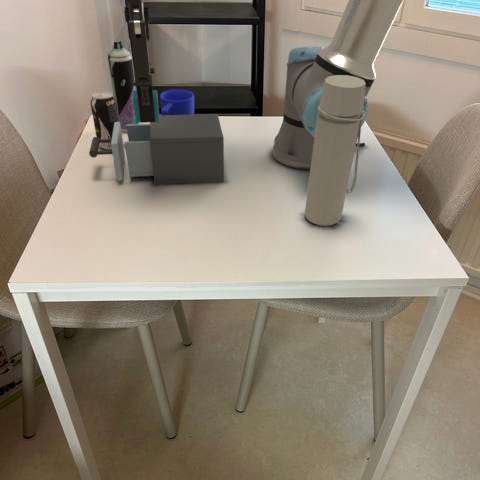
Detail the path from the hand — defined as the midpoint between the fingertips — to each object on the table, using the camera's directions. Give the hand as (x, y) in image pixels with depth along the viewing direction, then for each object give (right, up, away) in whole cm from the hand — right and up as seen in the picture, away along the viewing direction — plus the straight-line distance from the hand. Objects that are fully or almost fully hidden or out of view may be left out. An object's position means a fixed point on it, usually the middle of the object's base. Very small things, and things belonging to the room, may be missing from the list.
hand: (147, 116), depth 91 cm
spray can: (-11, +11, +33) cm, 37 cm away
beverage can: (-14, +3, +25) cm, 29 cm away
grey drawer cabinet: (+6, -5, +16) cm, 18 cm away
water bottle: (+35, -19, +3) cm, 40 cm away
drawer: (-5, -5, +15) cm, 16 cm away
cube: (0, 0, 0) cm, 0 cm away
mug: (+2, +6, +29) cm, 29 cm away
